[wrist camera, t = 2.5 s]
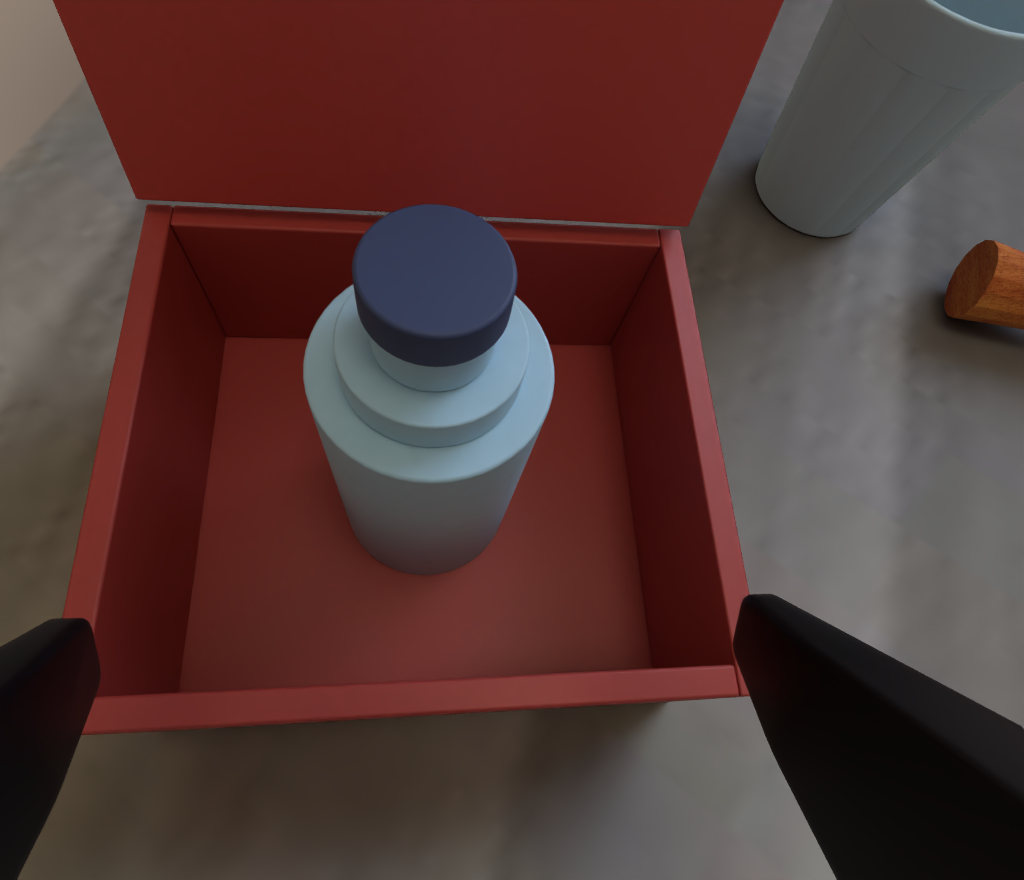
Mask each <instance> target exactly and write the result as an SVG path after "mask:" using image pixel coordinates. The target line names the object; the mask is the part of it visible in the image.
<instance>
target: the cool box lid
mask: <svg viewBox="0 0 1024 880" xmlns="http://www.w3.org/2000/svg"><path fill="white" fill-rule="evenodd" d="M783 1H784V0H53V2H54V4H55V7H56V9H57V11H58V14H59V16H60V18H61V21H62V23H63V26H64V28H65V30H66V33H67V35H68V37H69V40H70V42H71V45H72V47H73V49H74V52H75V54H76V56H77V59H78V61H79V63H80V66H81V68H82V71H83V73H84V75H85V78H86V80H87V83H88V85H89V87H90V90H91V92H92V94H93V97H94V99H95V102H96V104H97V106H98V109H99V111H100V113H101V116H102V118H103V121H104V123H105V125H106V128H107V130H108V132H109V135H110V137H111V140H112V142H113V144H114V147H115V149H116V151H117V154H118V156H119V159H120V161H121V163H122V166H123V168H124V170H125V173H126V175H127V178H128V180H129V182H130V185H131V187H132V189H133V192H134V194H135V197H136V198H137V199H142V200H162V201H182V202H202V203H222V204H243V205H263V206H283V207H303V208H323V209H343V210H363V211H383V212H394V211H396V210H399V209H402V208H405V207H409V206H414V205H422V204H439V205H447V206H452V207H456V208H459V209H463V210H466V211H468V212H470V213H473V214H475V215H477V216H484V217H504V218H524V219H544V220H564V221H584V222H604V223H624V224H644V225H664V226H684V227H687V226H689V223H690V221H691V219H692V216H693V214H694V211H695V209H696V207H697V204H698V202H699V200H700V197H701V195H702V193H703V190H704V188H705V185H706V183H707V181H708V178H709V176H710V174H711V171H712V169H713V167H714V164H715V162H716V159H717V157H718V155H719V152H720V150H721V148H722V145H723V143H724V140H725V138H726V136H727V133H728V131H729V129H730V126H731V124H732V122H733V119H734V117H735V114H736V112H737V110H738V107H739V105H740V103H741V100H742V98H743V96H744V93H745V91H746V88H747V86H748V84H749V81H750V79H751V77H752V74H753V72H754V69H755V67H756V65H757V62H758V60H759V58H760V55H761V53H762V51H763V48H764V46H765V43H766V41H767V39H768V36H769V34H770V32H771V29H772V27H773V25H774V22H775V20H776V17H777V15H778V13H779V10H780V8H781V6H782V3H783Z"/></svg>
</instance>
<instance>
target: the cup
mask: <svg viewBox="0 0 1024 880" xmlns="http://www.w3.org/2000/svg"><path fill="white" fill-rule="evenodd" d="M1023 80H1024V0H833V2H832V4H831V6H830V8H829V11H828V13H827V15H826V17H825V19H824V21H823V24H822V26H821V28H820V30H819V32H818V34H817V37H816V39H815V41H814V43H813V45H812V48H811V50H810V52H809V54H808V56H807V58H806V61H805V63H804V65H803V67H802V69H801V71H800V74H799V76H798V78H797V80H796V82H795V84H794V87H793V89H792V91H791V93H790V95H789V97H788V100H787V102H786V104H785V106H784V108H783V111H782V113H781V115H780V117H779V119H778V121H777V124H776V126H775V128H774V130H773V132H772V134H771V137H770V139H769V141H768V143H767V146H766V148H765V150H764V152H763V155H762V157H761V159H760V161H759V164H758V168H757V172H756V176H755V182H756V186H757V190H758V193H759V196H760V198H761V200H762V201H763V203H764V204H765V206H766V207H767V208H768V209H769V210H770V211H771V213H772V214H773V215H774V216H775V217H777V218H778V219H779V220H780V221H782V222H783V223H785V224H786V225H788V226H789V227H791V228H793V229H795V230H797V231H800V232H802V233H805V234H809V235H814V236H819V237H834V236H840V235H844V234H847V233H849V232H851V231H853V230H854V229H855V228H856V227H858V226H859V225H860V224H861V223H862V222H863V221H864V220H866V219H867V218H868V217H869V216H870V215H871V214H873V213H874V212H875V211H876V210H877V209H878V208H879V207H880V206H882V205H883V204H884V203H885V202H886V201H887V200H888V199H889V198H891V197H892V196H893V195H894V194H895V193H896V192H897V191H898V190H899V189H901V188H902V187H903V186H904V185H905V184H906V183H907V182H908V181H910V180H911V179H912V178H913V177H914V176H915V175H916V174H917V173H919V172H920V171H921V170H922V169H923V168H924V167H925V166H926V165H928V164H929V163H930V162H931V161H932V160H933V159H934V158H935V157H937V156H938V155H939V154H940V153H941V152H942V151H943V150H944V149H945V148H947V147H948V146H949V145H950V144H951V143H952V142H953V141H954V140H956V139H957V138H958V137H959V136H960V135H961V134H962V133H963V132H965V131H966V130H967V129H968V128H969V127H970V126H971V125H972V124H974V123H975V122H976V121H977V120H978V119H979V118H980V117H981V116H983V115H984V114H985V113H986V112H987V111H988V110H989V109H990V108H992V107H993V106H994V105H995V104H996V103H997V102H998V101H999V100H1000V99H1002V98H1003V97H1004V96H1005V95H1006V94H1007V93H1008V92H1009V91H1011V90H1012V89H1013V88H1014V87H1015V86H1016V85H1017V84H1019V83H1020V82H1022V81H1023Z"/></svg>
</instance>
